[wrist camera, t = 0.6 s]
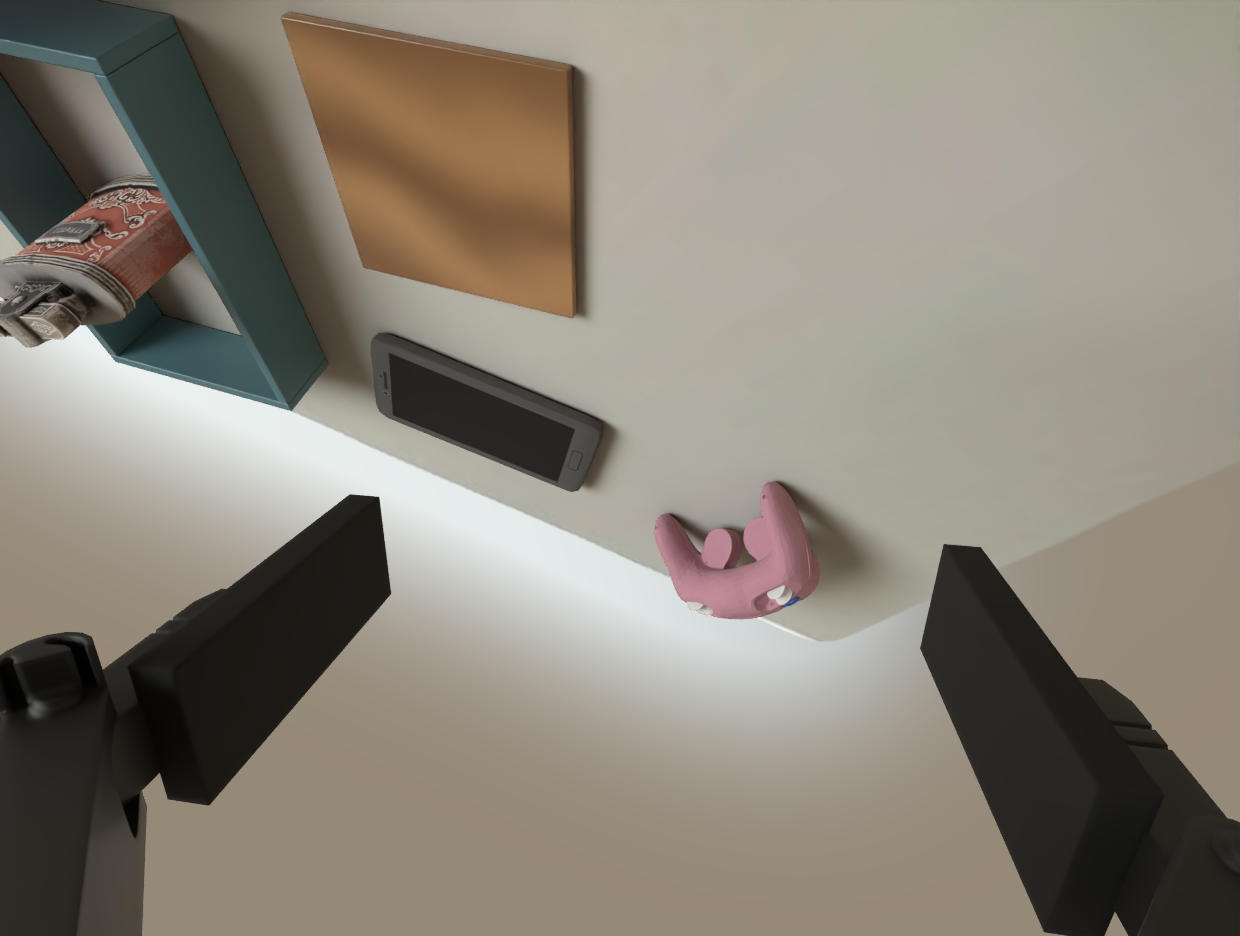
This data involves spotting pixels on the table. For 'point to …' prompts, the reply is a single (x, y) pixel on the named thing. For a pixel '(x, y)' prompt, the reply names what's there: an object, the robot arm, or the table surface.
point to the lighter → (91, 263)
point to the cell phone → (483, 413)
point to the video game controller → (753, 587)
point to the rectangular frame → (190, 184)
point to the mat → (447, 158)
